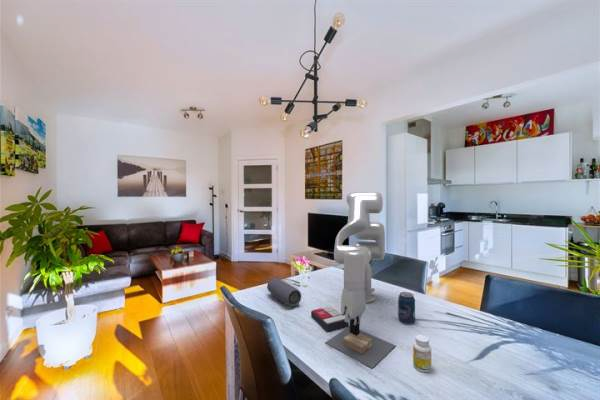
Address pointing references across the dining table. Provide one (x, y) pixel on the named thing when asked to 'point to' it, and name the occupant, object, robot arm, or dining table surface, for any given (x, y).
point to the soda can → (406, 308)
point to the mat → (368, 357)
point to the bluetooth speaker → (284, 292)
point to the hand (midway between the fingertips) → (354, 333)
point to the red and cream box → (329, 319)
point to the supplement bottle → (422, 353)
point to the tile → (358, 342)
